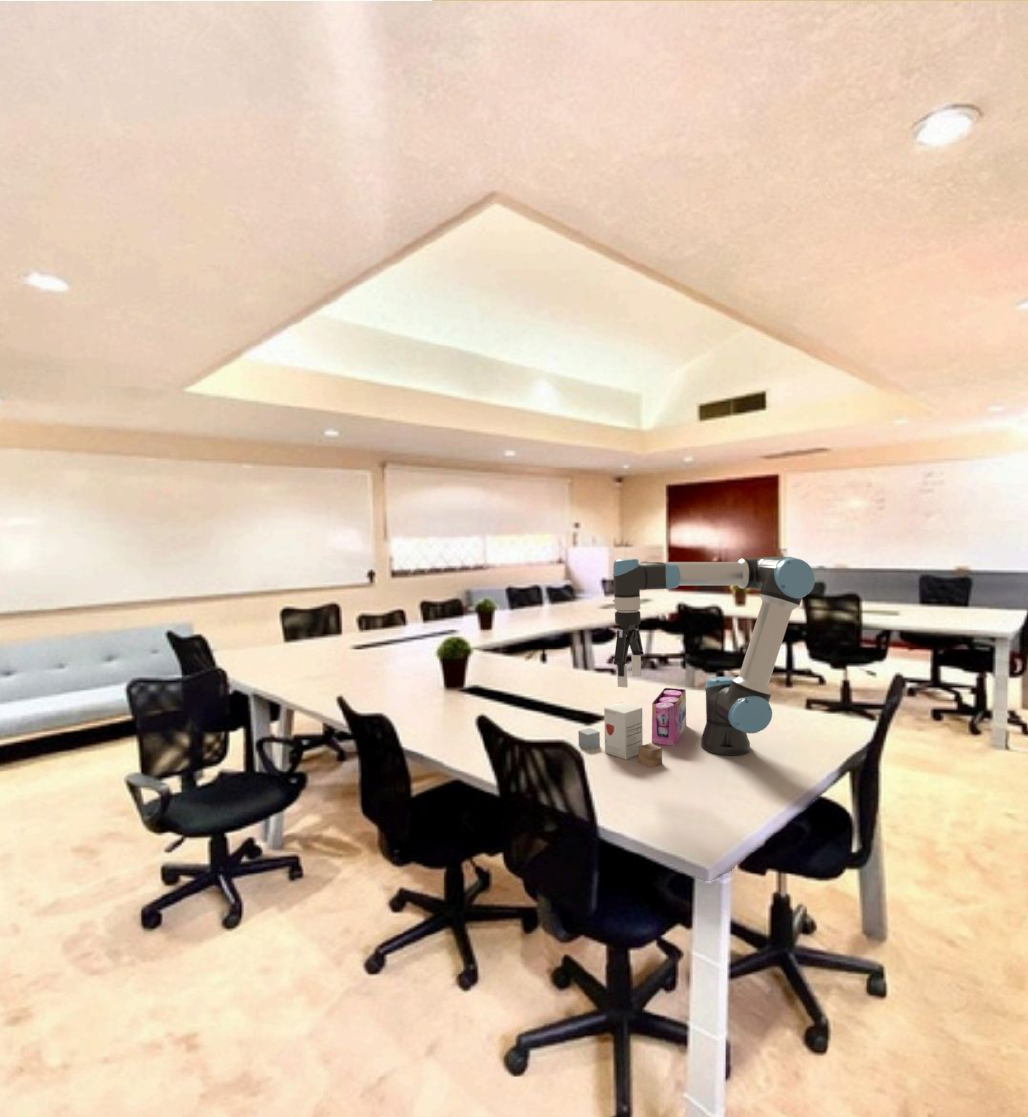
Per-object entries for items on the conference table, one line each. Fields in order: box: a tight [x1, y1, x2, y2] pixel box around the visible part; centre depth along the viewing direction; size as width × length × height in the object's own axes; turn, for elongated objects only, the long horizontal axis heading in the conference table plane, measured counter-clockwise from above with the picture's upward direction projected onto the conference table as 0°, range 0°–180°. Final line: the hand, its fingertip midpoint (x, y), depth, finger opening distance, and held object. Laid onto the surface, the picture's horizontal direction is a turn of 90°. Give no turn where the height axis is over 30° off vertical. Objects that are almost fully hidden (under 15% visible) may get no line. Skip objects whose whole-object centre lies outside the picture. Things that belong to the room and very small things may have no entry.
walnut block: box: [638, 742, 663, 768], centre depth 185 cm, size 5×5×5 cm
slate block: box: [578, 727, 601, 751], centre depth 201 cm, size 5×5×5 cm
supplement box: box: [603, 701, 644, 761], centre depth 193 cm, size 9×9×15 cm
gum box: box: [651, 687, 687, 746], centre depth 210 cm, size 24×8×14 cm, turn 154°
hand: (629, 681), depth 179 cm, fingers open, 13 cm apart
